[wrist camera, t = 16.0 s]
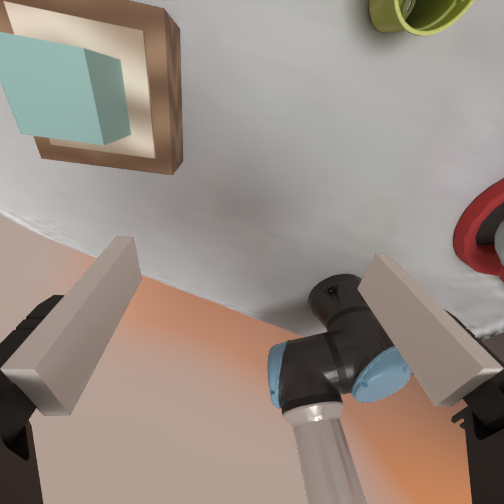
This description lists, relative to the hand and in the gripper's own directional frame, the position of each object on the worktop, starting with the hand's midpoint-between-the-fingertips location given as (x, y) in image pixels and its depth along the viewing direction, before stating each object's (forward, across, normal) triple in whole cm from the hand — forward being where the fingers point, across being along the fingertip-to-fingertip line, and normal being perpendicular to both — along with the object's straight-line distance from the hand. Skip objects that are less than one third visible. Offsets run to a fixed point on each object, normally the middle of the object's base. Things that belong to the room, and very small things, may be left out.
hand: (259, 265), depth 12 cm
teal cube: (+21, +18, -6) cm, 28 cm away
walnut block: (+30, +18, -7) cm, 35 cm away
